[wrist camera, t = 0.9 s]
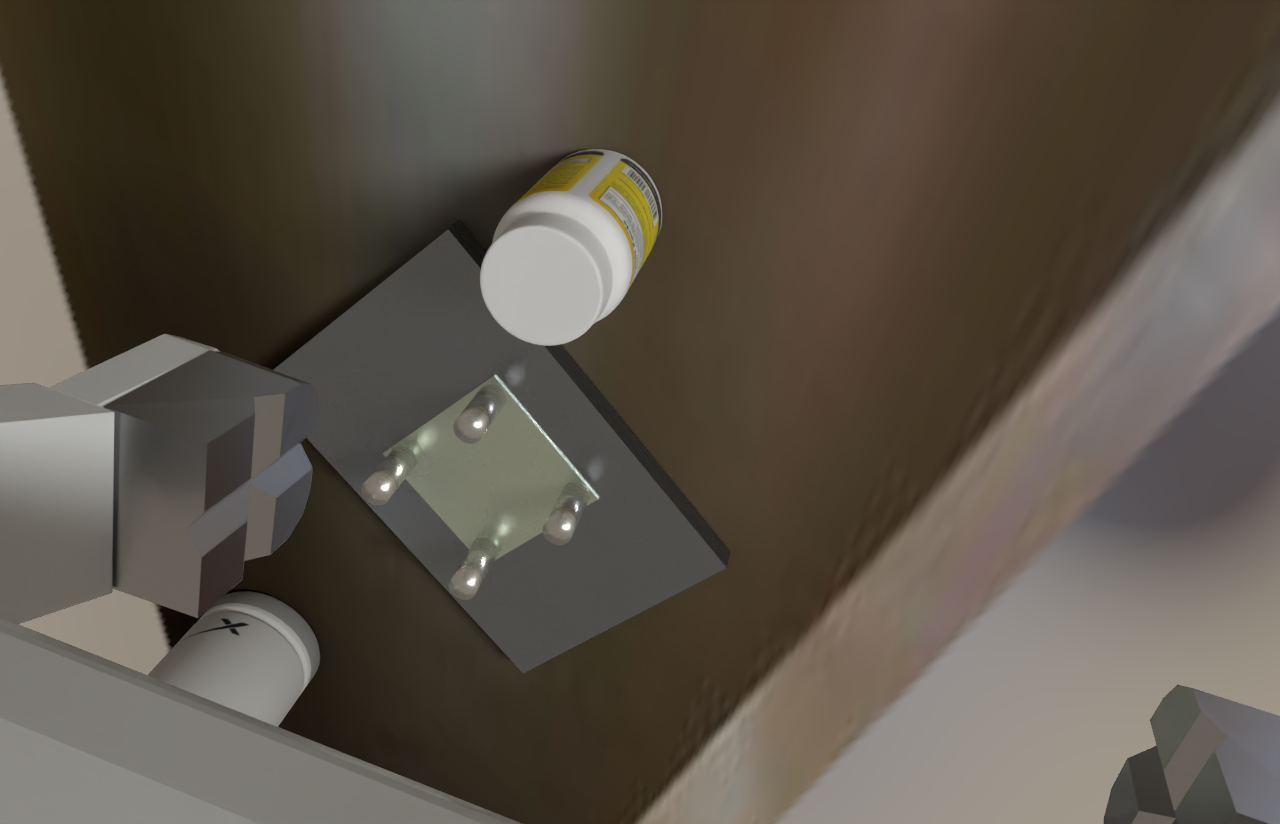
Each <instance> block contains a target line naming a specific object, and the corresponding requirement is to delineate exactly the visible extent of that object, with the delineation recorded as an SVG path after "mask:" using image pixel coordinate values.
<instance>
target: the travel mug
mask: <svg viewBox="0 0 1280 824" xmlns="http://www.w3.org/2000/svg"><path fill="white" fill-rule="evenodd" d="M319 662H320V652H319V646H318V642H317V640H316V637H315V634H314V633H313V631H312V630H311V628H310V626H309V625H308V624H307V622H306V621H305V620H304V619H303V618H302V616H300V615H299V614H298V613H297V612H296V611H295V610H294V609H292V608H291V607H290V606H288V605H286V604H285V603H283V602H282V601H280V600H278V599H276V598H274V597H271V596H268V595H265V594H262V593H257V592H250V591H244V592H234V593H230V594H227V595H225V596H223V597H222V598H220V599H219V600H218V601H217V602H216V603H215V604H213V605H212V606H211V607H210V608H209V609H208V610H207V611H206V612H205V613H204V614H203V615H202V617H201V618H200V619H199V621H198V622H196V623H195V624H194V625H193V626H192V628H191V629H190V630H189V631H188V632H187V633H186V634H185V635H184V636H183V637H182V638H181V640H180V641H179V642H178V643H177V644H176V645H175V646H174V647H173V648H172V649H171V650H170V652H169V653H168V654H167V655H166V656H165V657H164V658H163V659H162V660H161V661H160V662H159V664H158V665H157V666H156V667H155V668H154V669H153V670H152V671H151V672H150V673H149V675H148V676H150V677H152V678H155V679H157V680H160V681H162V682H165V683H168V684H170V685H173V686H175V687H178V688H180V689H183V690H185V691H188V692H190V693H193V694H195V695H198V696H200V697H203V698H205V699H208V700H211V701H213V702H216V703H218V704H221V705H223V706H226V707H228V708H231V709H233V710H236V711H238V712H241V713H243V714H246V715H248V716H251V717H254V718H256V719H259V720H261V721H264V722H266V723H269V724H271V725H274V726H276V727H278V726H279V724H280V723H281V721H282V720H283V719H284V717H285V716H286V714H287V713H288V711H289V710H290V709H291V707H292V706H293V704H294V703H295V702H296V700H297V699H298V697H299V696H300V695H301V693H302V692H303V690H304V689H305V688H306V686H307V685H308V683H309V682H310V680H311V679H312V678H313V676H314V675H315V673H316V672H317V669H318V666H319Z"/></svg>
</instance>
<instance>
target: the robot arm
mask: <svg viewBox="0 0 1280 824" xmlns="http://www.w3.org/2000/svg"><path fill="white" fill-rule="evenodd" d="M318 406H319V397H318V395H317V393H316V391H315V389H314V387H313V385H312V384H310V383H307V382H304V381H302V380H299V379H296V378H293V377H291V376H288V375H285V374H282V373H280V372H277V371H274V370H272V369H269V368H266V367H263V366H261V365H258V364H255V363H252V362H250V361H247V360H244V359H242V358H239V357H236V356H233V355H231V354H228V353H225V352H220V351H219V350H218V349H216V348H214V347H210V346H207V345H204V344H201V343H198V342H194V341H191V340H188V339H185V338H182V337H178V336H173V335H168V334H163V335H161V336H159V337H157V338H155V339H152V340H150V341H148V342H146V343H144V344H142V345H140V346H137V347H135V348H133V349H131V350H129V351H127V352H124V353H122V354H120V355H118V356H116V357H114V358H112V359H109V360H107V361H105V362H103V363H101V364H99V365H97V366H94V367H92V368H90V369H88V370H86V371H84V372H82V373H79V374H77V375H75V376H73V377H71V378H69V379H67V380H64V381H62V382H60V383H58V384H56V385H54V386H52V387H49V388H47V387H44V386H41V385H39V384H35V383H25V384H12V385H0V824H522V823H519V822H516V821H514V820H511V819H509V818H506V817H504V816H501V815H499V814H496V813H494V812H491V811H489V810H486V809H484V808H481V807H479V806H476V805H473V804H471V803H468V802H466V801H463V800H461V799H458V798H456V797H453V796H451V795H448V794H446V793H443V792H441V791H438V790H436V789H433V788H431V787H428V786H425V785H423V784H420V783H418V782H415V781H413V780H410V779H408V778H405V777H403V776H400V775H398V774H395V773H393V772H390V771H388V770H385V769H382V768H380V767H377V766H375V765H372V764H370V763H367V762H365V761H362V760H360V759H357V758H355V757H352V756H350V755H347V754H345V753H342V752H339V751H337V750H334V749H332V748H329V747H327V746H324V745H322V744H319V743H317V742H314V741H312V740H309V739H307V738H304V737H302V736H299V735H296V734H294V733H291V732H289V731H286V730H284V729H281V728H279V727H276V726H274V725H271V724H269V723H266V722H264V721H261V720H259V719H256V718H254V717H251V716H248V715H246V714H243V713H241V712H238V711H236V710H233V709H231V708H228V707H226V706H223V705H221V704H218V703H216V702H213V701H211V700H208V699H205V698H203V697H200V696H198V695H195V694H193V693H190V692H188V691H185V690H183V689H180V688H178V687H175V686H173V685H170V684H168V683H165V682H162V681H160V680H157V679H155V678H152V677H150V676H147V675H145V674H142V673H140V672H137V671H135V670H132V669H130V668H127V667H125V666H122V665H120V664H117V663H114V662H112V661H109V660H107V659H104V658H102V657H99V656H97V655H94V654H92V653H89V652H87V651H84V650H82V649H79V648H77V647H74V646H71V645H69V644H66V643H64V642H61V641H59V640H56V639H54V638H51V637H49V636H46V635H44V634H41V633H39V632H36V631H33V630H31V629H28V628H26V627H23V626H21V625H18V624H20V623H23V622H26V621H29V620H32V619H35V618H38V617H41V616H44V615H46V614H50V613H53V612H56V611H59V610H61V609H65V608H68V607H71V606H74V605H76V604H80V603H83V602H86V601H89V600H92V599H95V598H98V597H101V596H104V595H107V594H110V593H112V588H113V589H116V590H119V591H122V592H125V593H128V594H131V595H134V596H136V597H139V598H142V599H145V600H148V601H150V602H153V603H156V604H159V605H162V606H165V607H167V608H170V609H173V610H176V611H179V612H182V613H185V614H187V615H190V616H193V617H196V618H199V617H200V616H201V615H202V614H203V613H204V612H205V611H207V610H208V609H209V608H210V607H211V606H212V605H213V604H215V603H216V602H217V601H218V600H219V599H220V598H222V597H223V596H224V595H225V594H226V593H227V592H228V591H230V590H231V589H232V588H233V587H234V586H235V585H236V584H238V583H239V582H240V581H241V580H242V578H243V567H244V561H246V560H250V559H254V558H259V557H263V556H267V555H271V554H272V553H273V552H274V551H275V550H276V549H277V548H278V547H279V546H280V545H281V544H282V543H284V542H285V541H286V540H287V539H288V537H289V536H290V534H291V532H292V531H293V529H294V527H295V526H296V524H297V522H298V521H299V519H300V517H301V516H302V514H303V511H304V508H305V505H306V502H307V498H308V495H309V492H310V486H311V478H312V470H313V468H312V466H311V464H310V462H309V460H308V458H307V456H306V454H305V451H304V449H303V447H302V445H301V442H302V441H303V440H305V439H306V438H307V437H308V436H309V435H310V434H311V433H312V432H314V431H315V430H316V429H317V421H318ZM1150 722H1151V725H1152V729H1153V733H1154V737H1155V741H1156V745H1157V746H1155V747H1153V748H1151V749H1148V750H1146V751H1144V752H1141V753H1139V754H1137V755H1134V756H1132V757H1130V758H1128V759H1127V760H1126V762H1125V764H1124V766H1123V768H1122V770H1121V772H1120V774H1119V775H1118V777H1117V779H1116V781H1115V783H1114V785H1113V787H1112V789H1111V793H1110V797H1109V801H1108V804H1107V808H1106V813H1105V816H1104V824H1280V716H1278V715H1275V714H1272V713H1269V712H1265V711H1262V710H1259V709H1256V708H1253V707H1250V706H1247V705H1243V704H1240V703H1237V702H1234V701H1231V700H1228V699H1224V698H1222V697H1218V696H1215V695H1212V694H1209V693H1205V692H1203V691H1200V690H1196V689H1193V688H1189V687H1185V686H1180V685H1177V686H1176V687H1175V688H1174V689H1173V690H1172V691H1170V692H1169V693H1168V694H1167V695H1166V696H1165V697H1164V698H1163V700H1162V701H1161V703H1160V705H1159V706H1158V708H1157V710H1156V711H1155V713H1154V715H1153V716H1152V718H1151V719H1150Z"/></svg>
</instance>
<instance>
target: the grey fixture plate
mask: <svg viewBox="0 0 1280 824" xmlns="http://www.w3.org/2000/svg"><path fill="white" fill-rule="evenodd" d="M485 254H486V252H485V251H484V250H483V248H482V247H481V246H480V245H479V243H478V242H477V241H476V240H475V239H474V237H473V236H472V235H471V234H470V232H469V231H468V230H467V229H466V227H465V226H464V225H463V224H462V223H461V221H460V220H459V221H457V222H456V223H455V224H454V225H452V226H451V227H450V228H449V229H448V230H446V231H445V232H444V233H443V234H441V235H440V236H439V237H438V238H436V239H435V240H434V241H433V242H431V243H430V244H429V245H428V246H426V247H425V248H424V249H423V250H421V251H420V252H419V253H418V254H416V255H415V256H414V257H413V258H411V259H410V260H409V261H408V262H407V263H405V264H404V265H403V266H402V267H400V268H399V269H398V270H397V271H395V272H394V273H393V274H392V275H390V276H389V277H388V278H387V279H385V280H384V281H383V282H382V283H380V284H379V285H378V286H377V287H375V288H374V289H373V290H372V291H370V292H369V293H368V294H367V295H365V296H364V297H363V298H362V299H361V300H359V301H358V302H357V303H356V304H354V305H353V306H352V307H351V308H349V309H348V310H347V311H346V312H344V313H343V314H342V315H341V316H339V317H338V318H337V319H336V320H334V321H333V322H332V323H331V324H329V325H328V326H327V327H326V328H324V329H323V330H322V331H321V332H320V333H318V334H317V335H316V336H315V337H313V338H312V339H311V340H310V341H308V342H307V343H306V344H305V345H303V346H302V347H301V348H300V349H298V350H297V351H296V352H295V353H293V354H292V355H291V356H290V357H288V358H287V359H286V360H285V361H283V362H282V363H281V364H280V365H279V366H277V367H276V368H275V369H274V371H277V372H280V373H282V374H285V375H288V376H291V377H293V378H296V379H299V380H302V381H304V382H307V383H310V384H312V385H313V387H314V389H315V391H316V393H317V395H318V397H319V406H318V421H317V429H316V430H315V431H314V432H312V433H311V434H310V435H309V436H308V437H307V439H308V440H309V441H310V442H311V443H312V444H313V446H314V447H315V448H316V449H317V450H318V451H319V452H320V453H321V454H322V455H323V456H324V457H325V459H326V460H327V461H328V462H329V463H330V464H331V465H332V466H333V467H334V468H335V469H336V471H337V472H338V473H339V474H340V475H341V476H342V477H343V478H344V479H345V480H346V481H347V482H348V484H349V485H350V486H351V487H352V488H353V489H354V490H355V491H356V492H357V493H358V494H359V496H360V497H361V498H362V499H363V500H364V501H365V502H366V503H367V504H368V505H369V506H370V507H371V509H372V510H373V511H374V512H375V513H376V514H377V515H378V516H379V517H380V518H381V519H382V520H383V522H384V523H385V524H386V525H387V526H388V527H389V528H390V529H391V530H392V531H393V532H394V534H395V535H396V536H397V537H398V538H399V539H400V540H401V541H402V542H403V543H404V544H405V545H406V547H407V548H408V549H409V550H410V551H411V552H412V553H413V554H414V555H415V556H416V557H417V559H418V560H419V561H420V562H421V563H422V564H423V565H424V566H425V567H426V568H427V569H428V570H429V572H430V573H431V574H432V575H433V576H434V577H435V578H436V579H437V580H438V581H439V582H440V583H441V585H442V586H443V587H444V588H445V589H446V590H447V591H448V592H449V593H450V594H451V595H452V597H453V598H454V599H455V600H456V601H457V602H458V603H459V604H460V605H461V606H462V607H463V608H464V610H465V611H466V612H467V613H468V614H469V615H470V616H471V617H472V618H473V619H474V620H475V622H476V623H477V624H478V625H479V626H480V627H481V628H482V629H483V630H484V631H485V632H486V633H487V635H488V636H489V637H490V638H491V639H492V640H493V641H494V642H495V643H496V644H497V645H498V646H499V648H500V649H501V650H502V651H503V652H504V653H505V654H506V655H507V656H508V657H509V658H510V660H511V661H512V662H513V663H514V664H515V665H516V666H517V667H518V668H519V669H520V670H521V671H522V673H524V672H526V671H528V670H530V669H532V668H534V667H536V666H538V665H540V664H542V663H544V662H546V661H548V660H550V659H551V658H553V657H555V656H557V655H559V654H561V653H563V652H565V651H567V650H569V649H571V648H573V647H575V646H577V645H579V644H580V643H582V642H584V641H586V640H588V639H590V638H592V637H594V636H596V635H598V634H600V633H602V632H604V631H606V630H608V629H609V628H611V627H613V626H615V625H617V624H619V623H621V622H623V621H625V620H627V619H629V618H631V617H633V616H635V615H636V614H638V613H640V612H642V611H644V610H646V609H648V608H650V607H652V606H654V605H656V604H658V603H660V602H662V601H664V600H665V599H667V598H669V597H671V596H673V595H675V594H677V593H679V592H681V591H683V590H685V589H687V588H689V587H691V586H693V585H694V584H696V583H698V582H700V581H702V580H704V579H706V578H708V577H710V576H712V575H714V574H716V573H718V572H720V571H721V570H723V569H725V568H727V564H728V560H729V555H730V551H729V549H728V548H727V547H726V546H725V545H724V543H723V542H722V541H721V540H720V538H719V537H718V536H717V535H716V534H715V532H714V531H713V530H712V529H711V527H710V526H709V525H708V524H707V523H706V521H705V520H704V519H703V518H702V516H701V515H700V514H699V513H698V512H697V510H696V509H695V508H694V507H693V505H692V504H691V503H690V502H689V501H688V499H687V498H686V497H685V496H684V494H683V493H682V492H681V491H680V489H679V488H678V487H677V486H676V485H675V483H674V482H673V481H672V480H671V478H670V477H669V476H668V475H667V474H666V472H665V471H664V470H663V469H662V467H661V466H660V465H659V464H658V463H657V461H656V460H655V459H654V458H653V456H652V455H651V454H650V453H649V452H648V450H647V449H646V448H645V447H644V445H643V444H642V443H641V442H640V441H639V439H638V438H637V437H636V436H635V434H634V433H633V432H632V431H631V430H630V428H629V427H628V426H627V425H626V423H625V422H624V421H623V420H622V418H621V417H620V416H619V415H618V414H617V412H616V411H615V410H614V409H613V407H612V406H611V405H610V404H609V403H608V401H607V400H606V399H605V398H604V396H603V395H602V394H601V393H600V392H599V390H598V389H597V388H596V387H595V385H594V384H593V383H592V382H591V381H590V379H589V378H588V377H587V376H586V374H585V373H584V372H583V371H582V370H581V368H580V367H579V366H578V365H577V363H576V362H575V361H574V360H573V358H572V357H571V356H570V355H569V354H568V352H567V351H566V350H565V349H564V347H563V346H562V345H561V344H560V345H552V346H545V345H537V344H532V343H529V342H526V341H523V340H521V339H519V338H517V337H515V336H514V335H512V334H510V333H509V332H507V331H506V330H505V329H504V328H503V327H502V326H500V325H499V323H498V322H497V321H496V320H495V319H494V318H493V316H492V315H491V313H490V312H489V310H488V308H487V306H486V304H485V301H484V299H483V296H482V292H481V287H480V271H481V265H482V262H483V259H484V256H485Z"/></svg>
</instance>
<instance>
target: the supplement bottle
mask: <svg viewBox="0 0 1280 824" xmlns="http://www.w3.org/2000/svg"><path fill="white" fill-rule="evenodd" d="M661 223H662V206H661V200H660V196H659V193H658V190H657V188H656V186H655V184H654V182H653V181H652V179H651V178H650V176H649V175H648V174H647V172H646V171H645V170H644V169H643V168H642V167H641V166H640V165H639V164H637V163H636V162H635V161H633V160H632V159H630V158H629V157H627V156H625V155H623V154H620V153H617V152H614V151H610V150H604V149H588V150H582V151H578V152H575V153H573V154H571V155H569V156H567V157H565V158H564V159H562V160H561V161H560V162H558V163H557V164H556V165H555V166H554V167H553V168H552V169H551V170H549V171H548V172H547V173H546V174H545V175H544V176H543V177H542V178H541V179H540V180H539V181H538V182H537V183H536V184H535V185H534V186H533V187H532V188H531V189H529V190H528V191H527V192H526V193H525V194H524V195H523V196H522V197H521V198H520V199H519V200H518V201H517V202H516V203H515V204H513V205H512V206H511V207H510V209H509V210H508V211H507V212H506V213H505V214H504V216H503V217H502V219H501V220H500V222H499V224H498V226H497V228H496V231H495V234H494V236H493V241H492V244H491V246H490V247H489V249H488V250H487V252H486V254H485V256H484V259H483V262H482V265H481V271H480V287H481V292H482V296H483V299H484V301H485V304H486V306H487V308H488V310H489V312H490V313H491V315H492V316H493V318H494V319H495V320H496V321H497V322H498V323H499V325H500V326H502V327H503V328H504V329H505V330H506V331H507V332H509V333H510V334H512V335H514V336H515V337H517V338H519V339H521V340H523V341H526V342H529V343H532V344H537V345H545V346H552V345H560V344H564V343H567V342H570V341H572V340H574V339H576V338H578V337H580V336H581V335H582V334H584V333H585V332H586V331H587V330H588V329H589V328H590V327H591V326H592V325H593V323H595V322H597V321H599V320H601V319H603V318H604V317H606V316H607V315H608V314H610V313H611V312H612V311H613V310H614V309H615V308H616V307H617V306H618V304H619V303H620V302H621V301H622V299H623V298H624V296H625V294H626V293H627V291H628V289H629V287H630V286H631V284H632V282H633V281H634V279H635V277H636V276H637V274H638V272H639V270H640V269H641V267H642V265H643V263H644V262H645V260H646V258H647V256H648V255H649V253H650V251H651V250H652V248H653V246H654V244H655V242H656V240H657V238H658V235H659V232H660V229H661Z"/></svg>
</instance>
